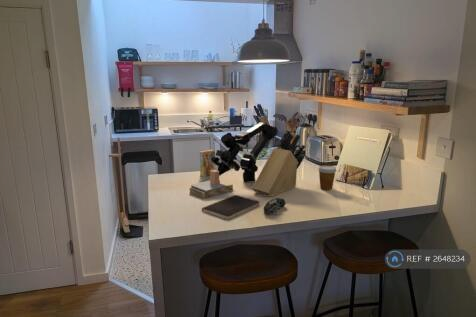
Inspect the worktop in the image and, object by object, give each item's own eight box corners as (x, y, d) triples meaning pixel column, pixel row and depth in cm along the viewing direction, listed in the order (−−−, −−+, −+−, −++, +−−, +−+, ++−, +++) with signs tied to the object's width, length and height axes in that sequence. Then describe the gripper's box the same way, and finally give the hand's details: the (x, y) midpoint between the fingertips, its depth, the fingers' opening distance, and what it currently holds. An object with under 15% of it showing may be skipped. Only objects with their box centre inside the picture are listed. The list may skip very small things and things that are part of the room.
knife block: (305, 183, 200) (307, 130, 193) (268, 198, 175) (269, 138, 168) (289, 179, 208) (290, 128, 201) (251, 193, 182) (251, 135, 175)
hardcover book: (259, 206, 166) (259, 201, 166) (228, 221, 149) (227, 216, 149) (234, 198, 176) (234, 194, 176) (201, 212, 159) (201, 207, 159)
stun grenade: (277, 206, 166) (261, 215, 155) (276, 193, 165) (260, 201, 154) (289, 208, 162) (273, 217, 152) (288, 195, 161) (272, 203, 151)
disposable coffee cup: (336, 187, 193) (337, 166, 190) (333, 192, 184) (334, 170, 182) (319, 185, 197) (320, 164, 194) (315, 190, 188) (316, 168, 185)
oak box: (218, 185, 197) (218, 180, 196) (232, 189, 189) (232, 184, 188) (189, 193, 184) (189, 187, 183) (203, 198, 175) (203, 192, 175)
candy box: (211, 172, 223) (211, 149, 219) (215, 174, 219) (215, 150, 216) (200, 175, 217) (199, 151, 214) (203, 176, 214) (203, 152, 210)
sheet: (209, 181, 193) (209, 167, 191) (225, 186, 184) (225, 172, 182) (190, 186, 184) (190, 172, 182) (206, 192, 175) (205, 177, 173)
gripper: (213, 142, 194) (197, 164, 189) (236, 146, 180) (220, 170, 175) (223, 153, 201) (209, 175, 196) (246, 159, 187) (231, 182, 182)
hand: (217, 176), depth 187 cm, fingers closed, pressing on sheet
